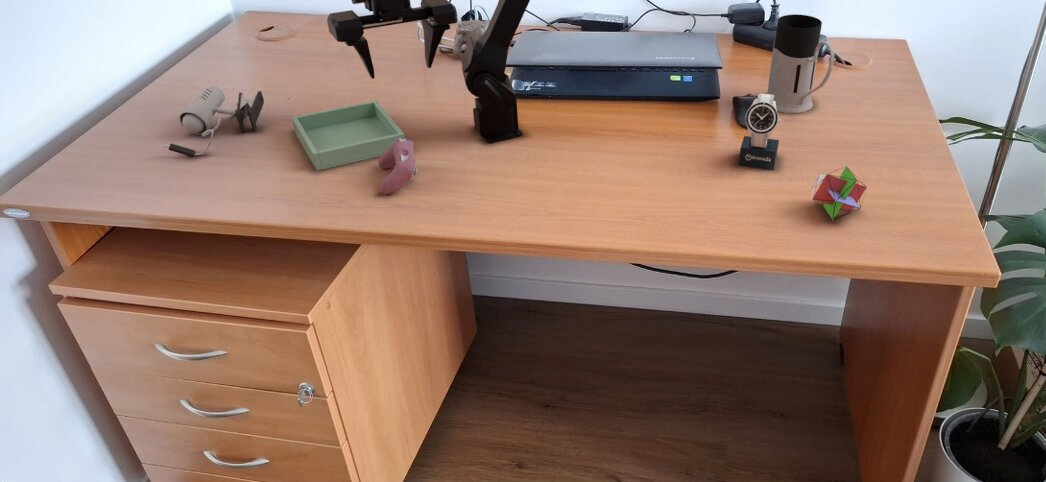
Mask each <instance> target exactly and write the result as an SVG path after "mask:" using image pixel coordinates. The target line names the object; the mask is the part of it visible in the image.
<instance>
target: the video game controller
mask: <svg viewBox="0 0 1046 482" xmlns="http://www.w3.org/2000/svg"><path fill="white" fill-rule="evenodd" d="M414 153H415V152H414V141H413V140H411V139H409V138H405V139H403V140H402V139H400V138H399V140H396V141H395V142H394V144H393V145H392V146H391V147H390V148H389V149H388V150H387V151H386V152H384V153H383V154H382V155H381V156H379V157H378V160H377V166H378V167H379V168H380V169H383V170H387V169H391V168H393V167H394V168H393V169H392V170H391V172H390V173H389V174H388V175H386V177H385V178H383V180H382V181H381V183H380V184H379V191H380V193H381V194H383V195H391V194H394V193H396V192H397V191H399V190H400V189H402V188H403V187H404V186H405V185H406V184H407V183H408V182H409V181H411V179H412V177H413V176H415V175H417V174H418V167H417V166H416V163H417V162H416V159H415V158H414V155H415V154H414Z"/></svg>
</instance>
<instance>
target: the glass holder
mask: <svg viewBox="0 0 1046 482" xmlns="http://www.w3.org/2000/svg"><path fill="white" fill-rule="evenodd" d="M822 25H823V21H822V20H821V19H820V18H817V17H815V16H811V15H808V14H807V15H806V14H785V15H782V16H779V17H778V18H777V22H776V30H775V37H774V39H773V44H772V45H773V46H772V53H771V61H770V69H769V78H768V85H767V93H766V94H770V95H774V100H773V101H775V103H776V109H777V112H779V113H786V114H801V113H804V112H807V111H810V110H811V109H812V108H813V107H814V106H813V101H812V94H813V93H815V92H817V91H818V90H819V89H821V88H822V87H824V86H825V84H826V83H827V82H828V80H829V78H830V76H831V74H832V71H833V67H834V63H835V49H834V46H833V45H832V44H831V43H830V42H829V41H820V39H821V33H822V27H823V26H822ZM823 45H825V46H826V47H827V48H828V51H829V55H830V57H829V63H828V68H827V71H826V74H825V76H824V78H823V79H822V81H821V82H820V84H818V86H816V87H814V82H815V76H816V71H817V69H816V68H817V64H818V57H819V53H820V50H821V47H822V46H823Z"/></svg>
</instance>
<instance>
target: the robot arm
mask: <svg viewBox="0 0 1046 482" xmlns="http://www.w3.org/2000/svg"><path fill="white" fill-rule="evenodd" d="M530 1H531V0H498V2H497V5H496V7H495V8H494V11H493V14H492V16H491V18H490V19H489V20H490V23H489V25H488V27H487V30H486V31H485V33H484V34H483V35H482V36H481V37H480V38H479V39H478V40H476V39H474V38H473V37H469V40H468V44H467V47H466V48H465V50H464V51H463V53H462V54H460V55H461V56H459V57H460V63H461V73H462V75H463V79H464V83H465V86H466V89H467V91H468V92H469V93H470V94H471V95H473V96H475V98H474V105H475V107H473V109H472V114H473V124H474V126H473V129H474V131H475V132H476V133H477V134H478V135H479V136H480V137H481V138H482V139H483V140H484V141H485V142H486V143H489V144H490V143H495V142H499V141H503V140H507V139H512V138H517V137H520V136H523V130H521V129H520V128H519V115H518V101H517V100H518V99H517V95H516V92H515V90H514V87H513V84H512V82H511V79H510V76H509V75H508V74H507V73H506V67H507V62H508V61H507V60H508V53H509V48H510V47H509V45H510V46H511V43H512V41H513V39H514V36H515V34H516V32H517V29H518V28H519V25H520V23H521V21H522V19H523V17H524V14H525V13H526V10H527V8H528V5H529V4H530ZM351 3H352V4H353V5H357V4H364V8H365V10H367V11H369V12H371V13H372V14H366V15H360V16H359V15H358V14H357V13H356V12H355V11H354V10H352V9H350V10H344V11H337V12H331V13H329V15H328V16H327V18H326V23H327V28H328V32H329V33H330V34H331V36H332V37H333V38H334V39H335V40H336V42H338V43H345V45H346V46H347V47H353V48H354V49H355V51H356V53H357V54H358V56H359V58H360V59H361V62H362V63H363V65H364V68H365V70H366V72H367V74H368V75H369V77H370V78H371V79H372V80H374V79H376V78H375V77H376V75H375V68H374V64H373V61H372V60H373V59H372V55H371V52H370V47H369V43H368V40H367V38H365V37H364V34H365V30H369V29H376V28H382V27H387V26H388V27H389V26H393V25H400V24H406V23H412V22H419V21H420V22H421V26H422V31H423V45H424V58H425V64H426V67H427V68H428V69H431V68H432V66H433V64H434V60H435V57H436V53H437V50H438V48H439V45H440V43H441V41H442V38H443V36H444V34H445V32H446V31H449V30H450V29H451V25H453V24H458V11H457V9H456V6H455V5H454V4H453V3H451V2H450V1H449V0H420V6H417V7H412V6H411V5H412V3H411V0H351Z"/></svg>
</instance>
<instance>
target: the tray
mask: <svg viewBox="0 0 1046 482" xmlns="http://www.w3.org/2000/svg"><path fill="white" fill-rule="evenodd" d="M291 122H292V126H293V131H294V134H295V135H296V137H297V139H298V140H299V142H300V144H301V145H302V147H303V149H304V150H305V153H306V154H307V156H308V158H309V159H310V161H311V164H312V165H313V166H314V168H315V170H316V171H317V172H318V171H321V170H326V169H331V168H335V167H339V166H344V165H348V164H353V163H356V162H362V161H366V160H370V159H374V158H380V156H381V155H382V154H383V153H384V152H386V151H387V150H388V149H389V148H390V147H391V146H392V145H393V144H394V142H395V141H396V140H399V138H400V139H402V140H403V139H406V135H405V133H404V132H403V130H402V129H401V128H400V127H399V125H398V124H397V123H396V122H395V121H394V119H393V118H392V117H391V116H390V115H389V113H388V112H387V111H386V110H385V108H384V107H383V106H382V105H381V104H380V102H379V101H378V100H371V101H365V102H359V103H355V104H352V105H351V104H350V105H345V106H341V107H336V108H331V109H325V110H320V111H317V112H311V113H305V114H301V115H300V114H299V115H296V116H292V117H291Z"/></svg>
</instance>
